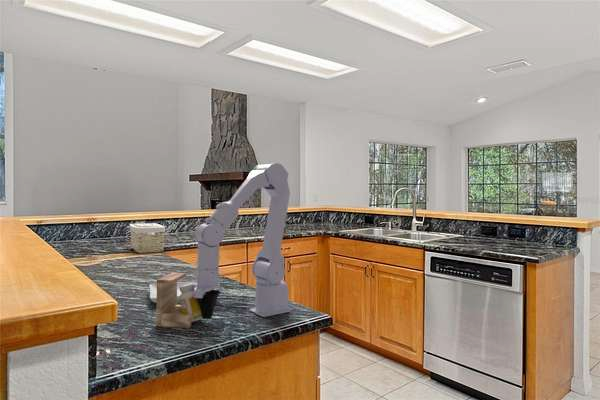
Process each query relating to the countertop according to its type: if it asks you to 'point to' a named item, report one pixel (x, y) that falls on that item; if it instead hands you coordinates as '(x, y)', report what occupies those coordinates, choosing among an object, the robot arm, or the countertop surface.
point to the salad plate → (154, 290)
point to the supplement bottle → (189, 302)
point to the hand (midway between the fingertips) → (207, 318)
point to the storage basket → (147, 237)
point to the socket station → (170, 303)
